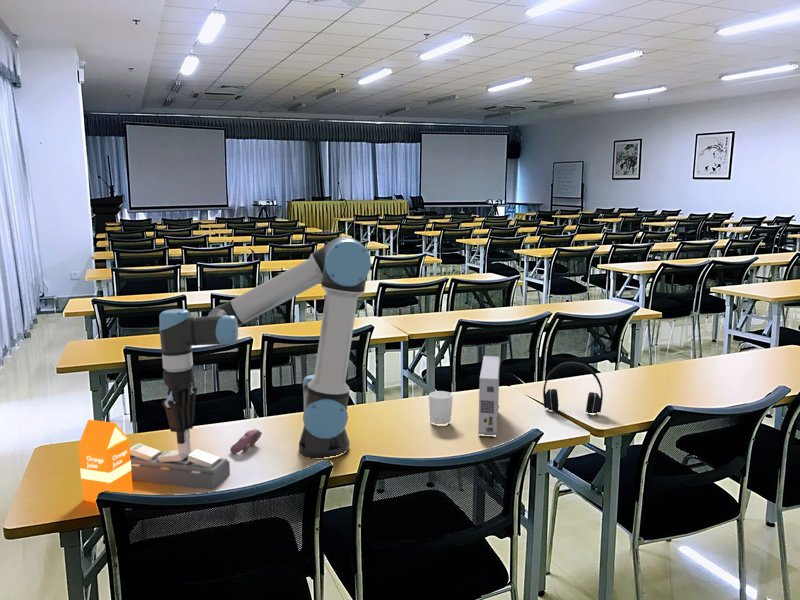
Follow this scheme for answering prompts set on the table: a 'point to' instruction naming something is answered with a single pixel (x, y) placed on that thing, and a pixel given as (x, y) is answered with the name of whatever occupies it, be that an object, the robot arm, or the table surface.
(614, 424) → the table surface
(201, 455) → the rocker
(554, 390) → the headphones
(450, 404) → the white cup
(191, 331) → the robot arm
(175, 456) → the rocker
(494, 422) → the game console
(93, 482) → the orange juice
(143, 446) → the rocker
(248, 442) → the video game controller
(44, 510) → the table surface
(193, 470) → the power strip
